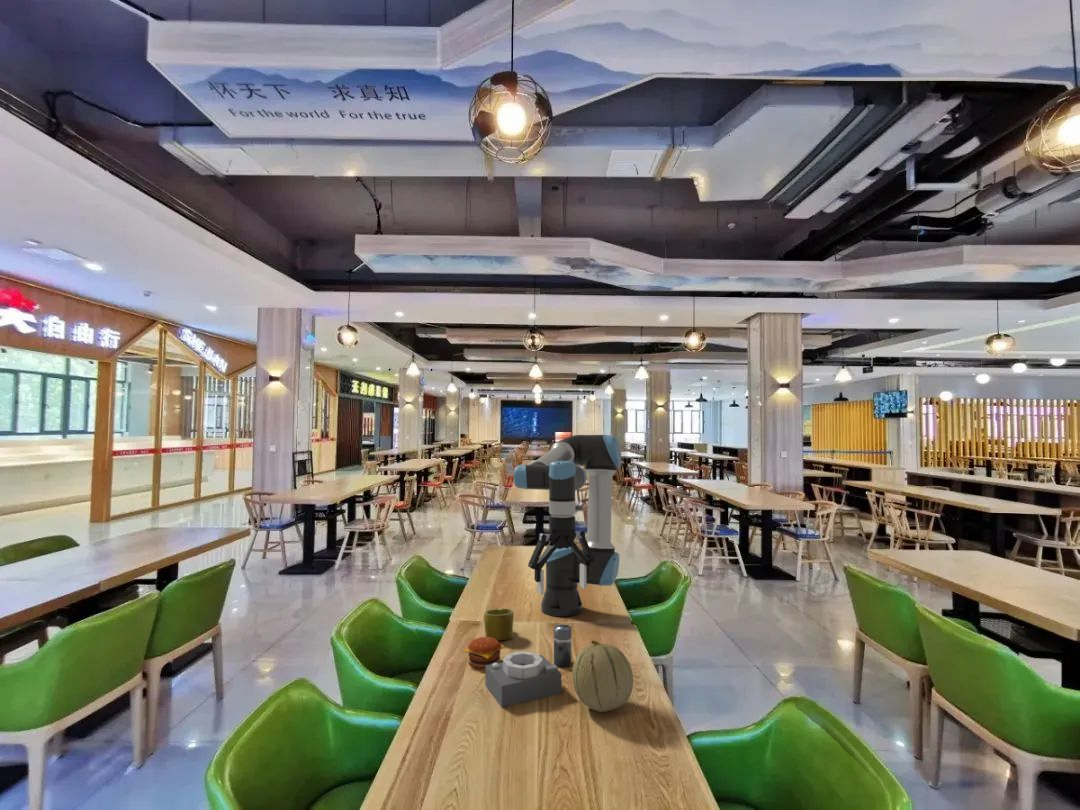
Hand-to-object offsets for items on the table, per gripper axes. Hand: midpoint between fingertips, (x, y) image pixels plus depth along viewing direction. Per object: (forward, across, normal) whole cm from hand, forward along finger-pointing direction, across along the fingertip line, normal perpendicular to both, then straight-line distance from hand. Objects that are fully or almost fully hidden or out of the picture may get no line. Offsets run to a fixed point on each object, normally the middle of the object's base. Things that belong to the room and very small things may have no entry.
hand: (562, 590), depth 150 cm
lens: (+20, 0, 0) cm, 21 cm away
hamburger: (+21, +20, -10) cm, 30 cm away
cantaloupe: (+21, +2, +25) cm, 33 cm away
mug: (+21, +9, -27) cm, 35 cm away
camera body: (+21, +16, +9) cm, 27 cm away
